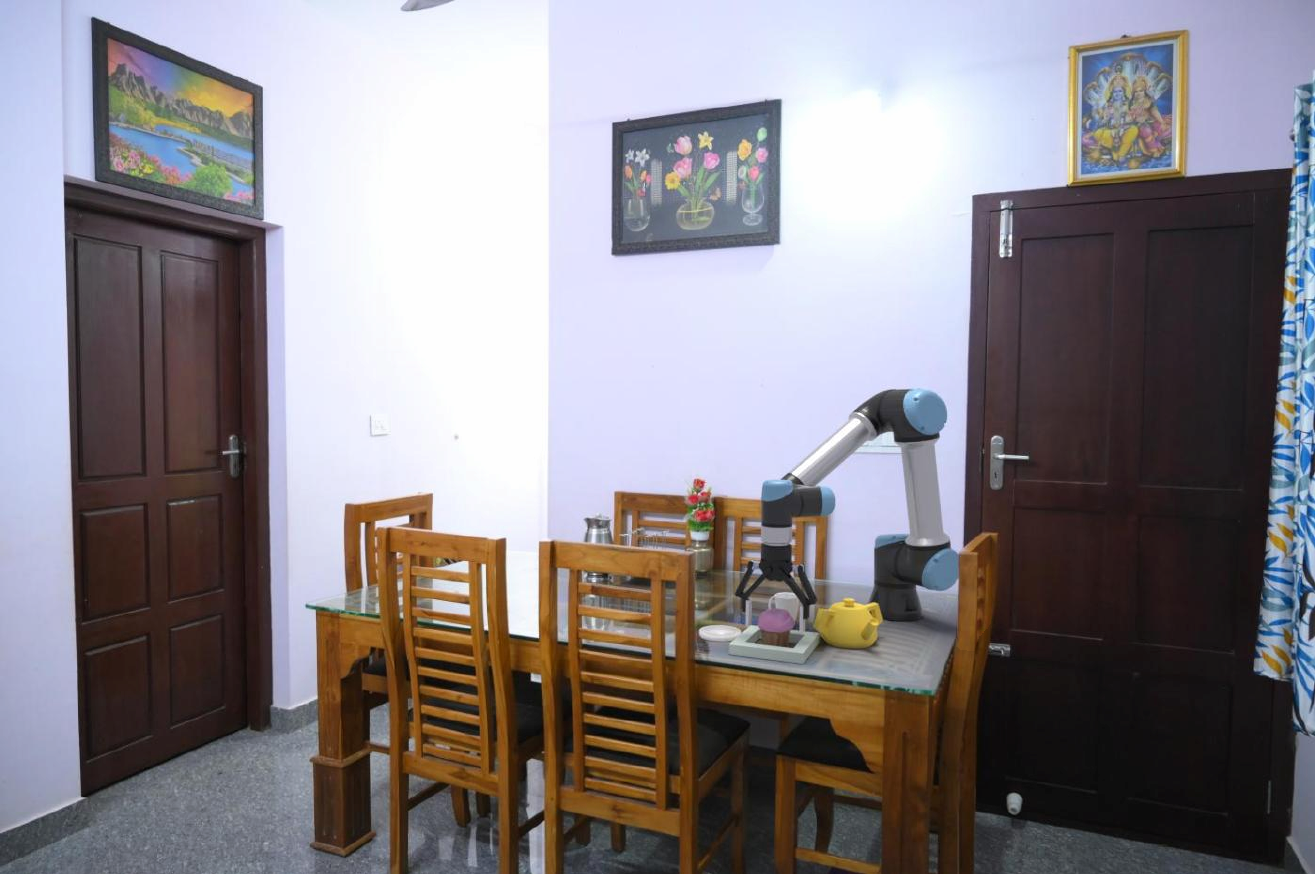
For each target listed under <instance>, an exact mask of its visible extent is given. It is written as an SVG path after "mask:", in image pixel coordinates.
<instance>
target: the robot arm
mask: <svg viewBox="0 0 1315 874" xmlns="http://www.w3.org/2000/svg"><path fill="white" fill-rule="evenodd" d="M947 420H948V409H947V405H946V403H945V401H944V400H943V398H942V397H941V395H939V394H938V393H937V392H935V391H932V390H930V389H923V388H905V389H904V388H903V389H902V388H901V389H898V388H897V389H896V388H895V389H885V390H882V391H880V392H878V393H876V394H874V395H873V396H871V397H870V398H868V399H867V400H865V401H864V402H863V403H861V404H860V405H858V407H856V409H854V410H853V411H851V412H850V413H849V415H848V420H847V421H846V422H845V423H844V424H842V426H840V427H839V428H838V429H837V430H836V431H834V432H833V433H832V434H831V435H830V436H829V437H828V438H826V439H825V440H824V441H823V442H822V443H820V444H819V445H818V446H817V447H816V448H815V449H814V450H812V452H809V454H808V455H807V456H806V457H805V458H803V459H802V460H801V461H800V462H799V463H797V464H796V465H795V467H793V468H792V469H791V470H789V471H788V472H787V473H786V474H785V475H784V476H782V478H780V479H766V480H765V481H763V482H762V486H761V494H760V495H761V497H760V501H761V506H760V509H761V511H760V513H761V515H760V516H761V518H760V522H761V525H760V527H761V528H760V541H761V542H762V543H761V544H760V561H757V560H755V559H751V560H749V561H748V562H747V568H746V571H745V573H744V575H743V576H742V579H741V581H740V582H739V584H738V586H737V588H736V590H735V592H734V595H735V597H738V598H740V599H741V611H742V613H745V627H746V628H748V627H749V626H750V625H752V623H753V622H752V618H753V617H752V616H753V615H752V614H753V598H749V597H751V595H752V594H753V593H754V592H755V591H756V590H757V589H758V587H760V586H761V584H762V583H763V582H764V581H765V580H767V581H768V582H774V581H775V582H779V583H780V582H784V583H785V584H786V585H788V588H790V590H791V591H792V593H794V594H795V595H796V596H797V598H798V599H799V603H801V605H800V606H799V630H798V631H799V633H803V632H804V631H805V632H806V620H808V619H809V618H810V611H811V610H810V609H811V608H810V606H813V605H816V604H817V602H818V598H817V595H816V594H815V591H814V590H813V587H812V585H811V581H810V580H809V578H808V575H807V574H806V568H805V567H806V566H805V564H804V563H800V564H793V561H792V553H793V550H792V548H793V547H792V544H791V543H792V541H793V519H796V518H816V517H817V518H821V517H826V516H830V515H831V514H832V513H834V511H835V507H836V496H835V493H834V491H833V489H831V488H830V487H829V486H820V485H819V484H820V483H821V482H822V481H824V480H825V478H826V477H828V476H829V475H831V473H832V472H834V471H835V469H837V468H838V467H840V465H841V464H842V463H844V462H846V460H847V459H848V458H849V457H851V456H852V455H853V454H854V453H855V452H856V451H857V450H859V448H861V447H862V446H863V445H864V444H865V443H866V442H868V441H869V442H872V441H875V440H876V439H877V438H878V437H879V436H880V435H883V434H885V433H893V441H894V443H895V444H896V445H897V446H899V447H900V450H901V451H900V452H901V460H902V471H903V480H904V489H905V497H906V498H905V499H906V507H907V509H906V510H907V516H908V526H909V527H908V529H909V533H890V534H889V533H888V534H881V535H877V537H875V539H874V548H873V588H872V590H871V593H870V597H869V600H868V602H867V604H870V603H873V602H875V603H877V604H879V608H880V611H881V615H882V618H883V620H887V621H894V622H896V621H897V622H908V621H916V620H919V619H921V618H923V607H922V603H921V600H920V597H919V594H918V590H917V586H919V587H921V588H924V589H926V590H930V591H936V592H937V591H938V592H944V591H946V590H948V589H951V588H952V587H953V586H955V585H956V583H957V581H958V580H959V579H958V555H960V554H959V553H958V552H957V551H956V549H953V548H952V546H951V544H952V543H951V537H950V536H949V535H948V534H947V533H945V532H944V525H943V524H944V523H943V516H942V515H943V514H942V506H941V505H942V504H941V495H940V488H939V487H940V484H939V476H938V468H937V467H938V465H937V456H936V447H935V444H936V443H937V442H938V440H940V438H941V437H940V436H941V435H940V433H941V431H942V430H944V428H945V424H946V423H947ZM758 568H759V570H760V572H761V574H760V575H759V576H758V577H757V579H756V580H755V581H754V582H753V583H752V585H751V586H750V587H749V588H748V589H747V590H746V591H745V592H744V590H745V588H746V587H747V584H748V583H749V581H750V579H751V577H752V575H753V573H754V571H755V570H756V569H758ZM793 571H794V572H795V574H796V575H798V579H799V580H800V583H801V585H802V587H803V590H804V591H803V590H802V589H801V587H800V586H799V585H798V582H796V581H795V579H794V577H793V576H792V575H791V573H792V572H793ZM869 612H870V614H871V615H872V613H871V611H869Z"/></svg>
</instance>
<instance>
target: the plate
mask: <svg viewBox="0 0 1315 874" xmlns="http://www.w3.org/2000/svg"><path fill="white" fill-rule="evenodd" d="M741 633H742V630H741V629H740V628H739V627H736V626H731V625H724V624H714V625H706V626H702V627H700V628H699V629H698V637H699V638H701V639H703V640H706V641H710V642H716V643H717V642H718V643H719V642H720V643H723V642H724V643H727V642H732V641H733V640H734V639H735V638H737V637H738V636H739V635H740V634H741Z"/></svg>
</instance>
